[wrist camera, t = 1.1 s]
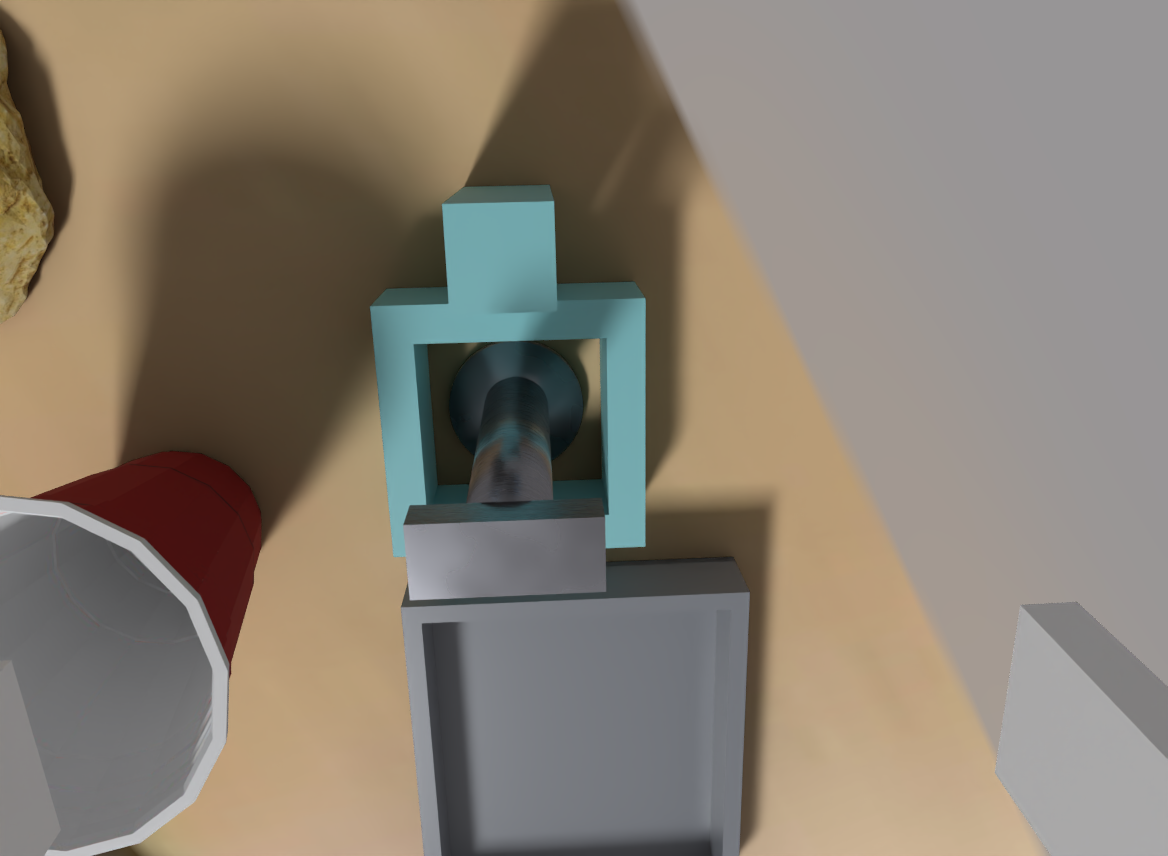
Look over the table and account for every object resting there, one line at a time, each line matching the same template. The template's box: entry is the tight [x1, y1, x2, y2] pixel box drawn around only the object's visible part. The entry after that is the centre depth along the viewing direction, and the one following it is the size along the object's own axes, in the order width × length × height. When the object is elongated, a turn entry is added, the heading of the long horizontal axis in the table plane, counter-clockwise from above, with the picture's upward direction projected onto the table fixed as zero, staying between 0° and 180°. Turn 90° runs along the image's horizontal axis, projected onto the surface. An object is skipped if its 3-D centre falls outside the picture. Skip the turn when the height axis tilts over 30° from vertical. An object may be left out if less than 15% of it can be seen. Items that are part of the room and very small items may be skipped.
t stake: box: [403, 341, 606, 600], centre depth 28 cm, size 5×5×13 cm
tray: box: [401, 557, 750, 856], centre depth 38 cm, size 16×13×3 cm
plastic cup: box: [0, 451, 261, 856], centre depth 29 cm, size 11×11×12 cm
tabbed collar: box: [370, 185, 646, 557], centre depth 30 cm, size 12×9×8 cm
